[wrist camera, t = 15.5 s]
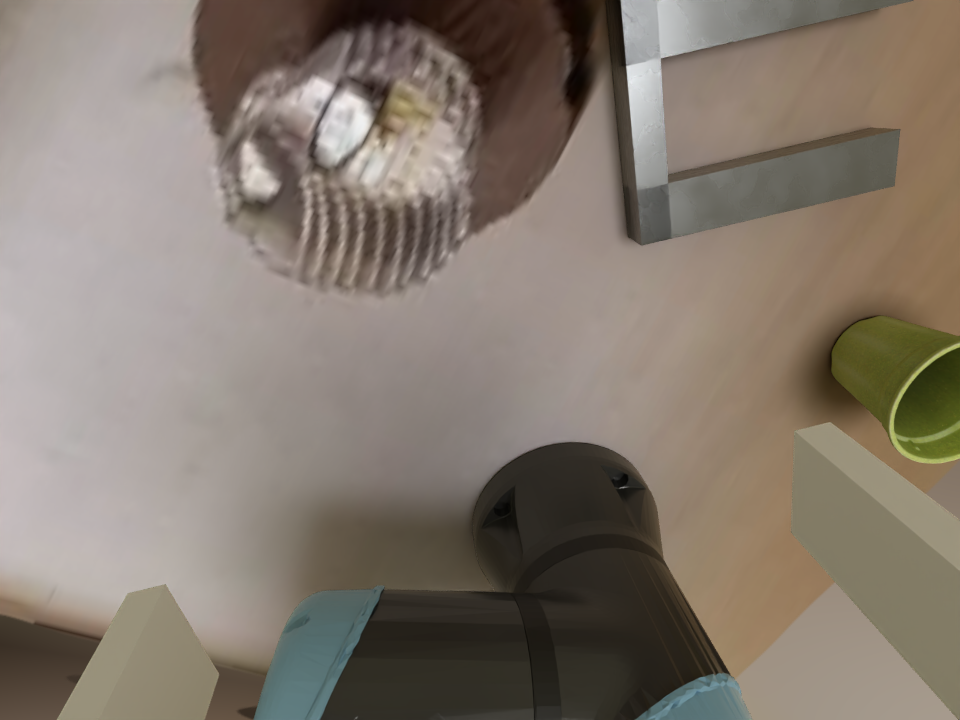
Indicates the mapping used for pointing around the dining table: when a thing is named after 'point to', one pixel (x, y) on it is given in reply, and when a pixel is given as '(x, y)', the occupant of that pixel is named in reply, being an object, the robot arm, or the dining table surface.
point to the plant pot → (905, 383)
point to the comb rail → (740, 182)
